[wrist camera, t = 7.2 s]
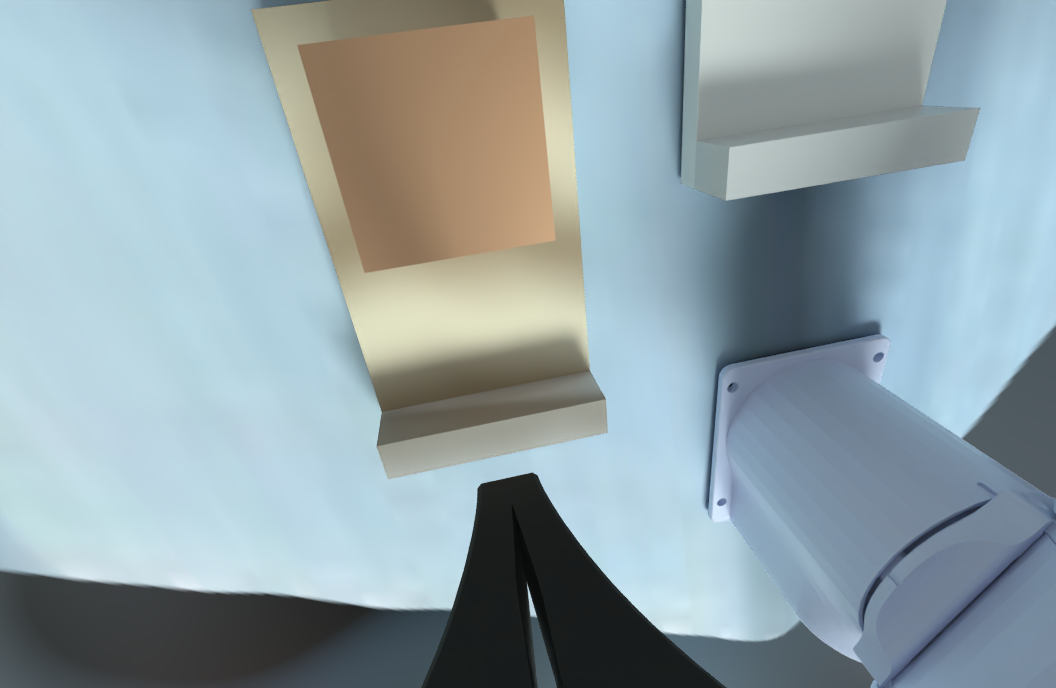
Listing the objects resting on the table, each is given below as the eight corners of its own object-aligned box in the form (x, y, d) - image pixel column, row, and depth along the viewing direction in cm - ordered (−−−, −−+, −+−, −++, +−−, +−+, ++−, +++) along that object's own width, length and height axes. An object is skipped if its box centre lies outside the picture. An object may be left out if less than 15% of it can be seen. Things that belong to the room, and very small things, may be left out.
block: (524, 202, 16) (555, 240, 12) (381, 224, 15) (364, 273, 11) (503, 36, 13) (534, 15, 10) (337, 58, 13) (296, 44, 9)
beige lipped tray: (584, 388, 21) (607, 432, 18) (393, 427, 20) (387, 479, 17) (553, -20, 14) (582, -45, 11) (263, 14, 13) (220, -3, 10)
